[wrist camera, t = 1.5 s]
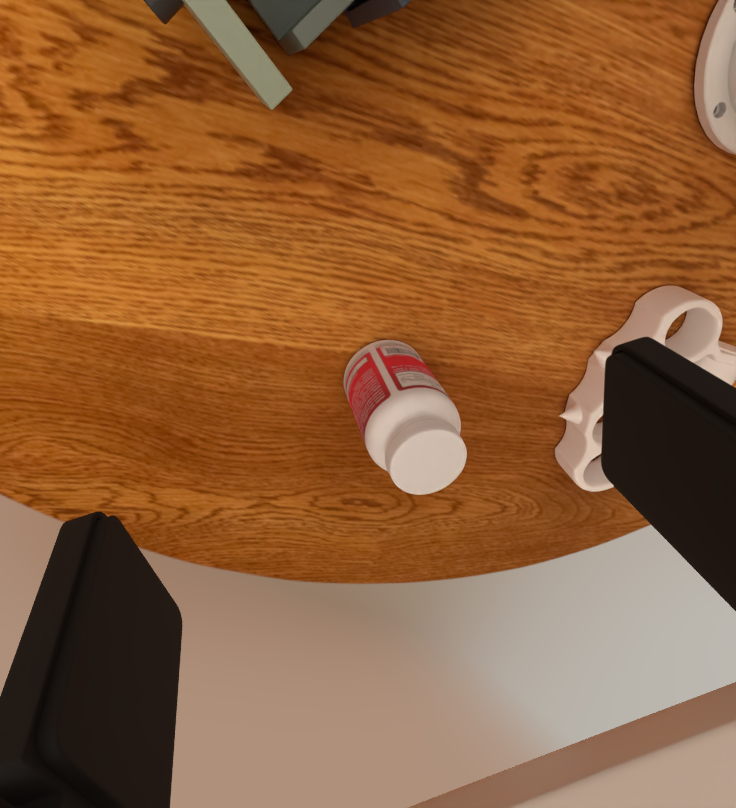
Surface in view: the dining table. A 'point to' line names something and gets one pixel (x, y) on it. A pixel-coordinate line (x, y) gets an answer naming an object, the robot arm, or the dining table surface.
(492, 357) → the dining table surface
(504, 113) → the dining table surface
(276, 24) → the drawer
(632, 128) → the dining table surface
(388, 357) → the pill bottle
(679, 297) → the white brass knuckles
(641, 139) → the dining table surface
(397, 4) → the cabinet
